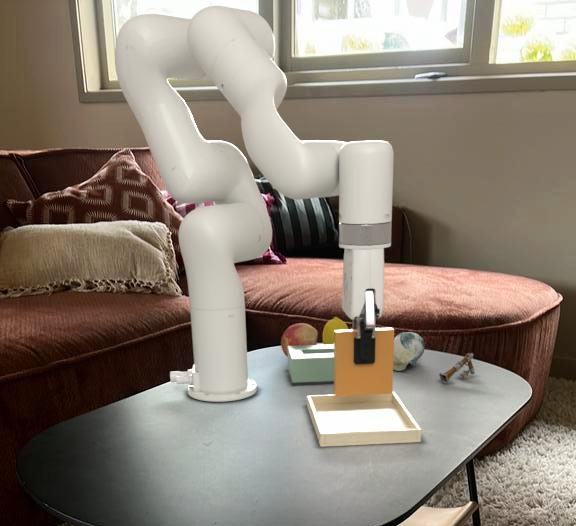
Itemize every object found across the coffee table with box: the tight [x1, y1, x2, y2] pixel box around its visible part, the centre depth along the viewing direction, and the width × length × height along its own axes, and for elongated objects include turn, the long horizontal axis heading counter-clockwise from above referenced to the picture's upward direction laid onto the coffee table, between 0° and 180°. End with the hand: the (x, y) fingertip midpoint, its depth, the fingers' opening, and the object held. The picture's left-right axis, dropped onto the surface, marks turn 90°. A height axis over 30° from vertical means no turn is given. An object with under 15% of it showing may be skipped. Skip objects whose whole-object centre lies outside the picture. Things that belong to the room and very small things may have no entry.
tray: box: [306, 391, 423, 448], centre depth 122 cm, size 15×19×2 cm
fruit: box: [280, 322, 318, 358], centre depth 154 cm, size 8×8×8 cm
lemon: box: [322, 316, 349, 345], centre depth 159 cm, size 6×6×8 cm
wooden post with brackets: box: [438, 352, 475, 385], centre depth 143 cm, size 2×8×4 cm, turn 123°
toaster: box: [287, 344, 334, 386], centre depth 146 cm, size 17×10×5 cm, turn 95°
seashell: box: [393, 331, 426, 372], centre depth 153 cm, size 6×8×12 cm
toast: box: [333, 327, 395, 396], centre depth 118 cm, size 9×2×10 cm, turn 95°
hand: (363, 360), depth 118 cm, fingers closed on toast, 1 cm apart
